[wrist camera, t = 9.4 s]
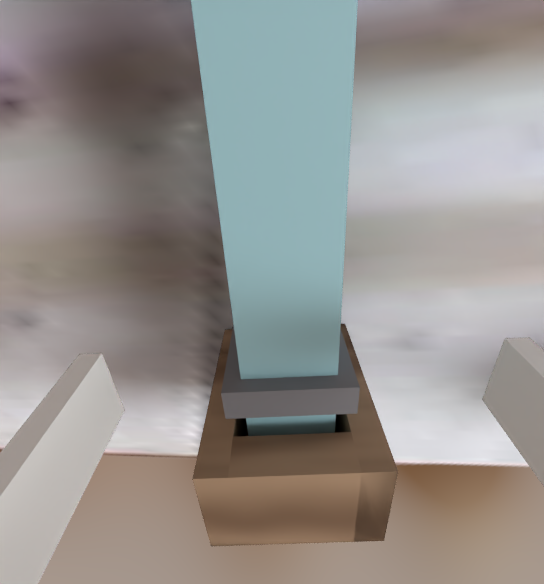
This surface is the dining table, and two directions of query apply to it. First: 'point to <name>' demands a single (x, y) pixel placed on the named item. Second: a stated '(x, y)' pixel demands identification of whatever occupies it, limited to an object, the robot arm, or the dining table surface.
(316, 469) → the socket block
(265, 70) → the inner tube
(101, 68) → the dining table surface
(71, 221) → the dining table surface
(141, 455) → the dining table surface
